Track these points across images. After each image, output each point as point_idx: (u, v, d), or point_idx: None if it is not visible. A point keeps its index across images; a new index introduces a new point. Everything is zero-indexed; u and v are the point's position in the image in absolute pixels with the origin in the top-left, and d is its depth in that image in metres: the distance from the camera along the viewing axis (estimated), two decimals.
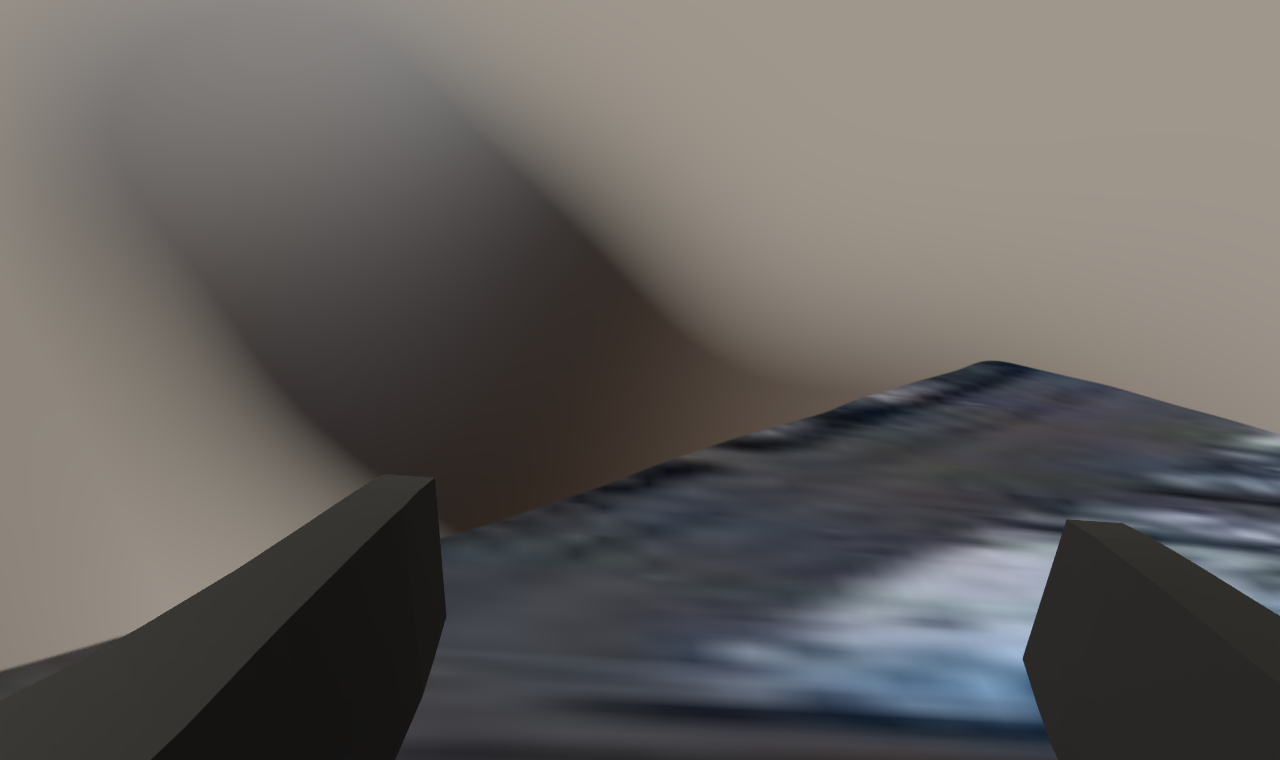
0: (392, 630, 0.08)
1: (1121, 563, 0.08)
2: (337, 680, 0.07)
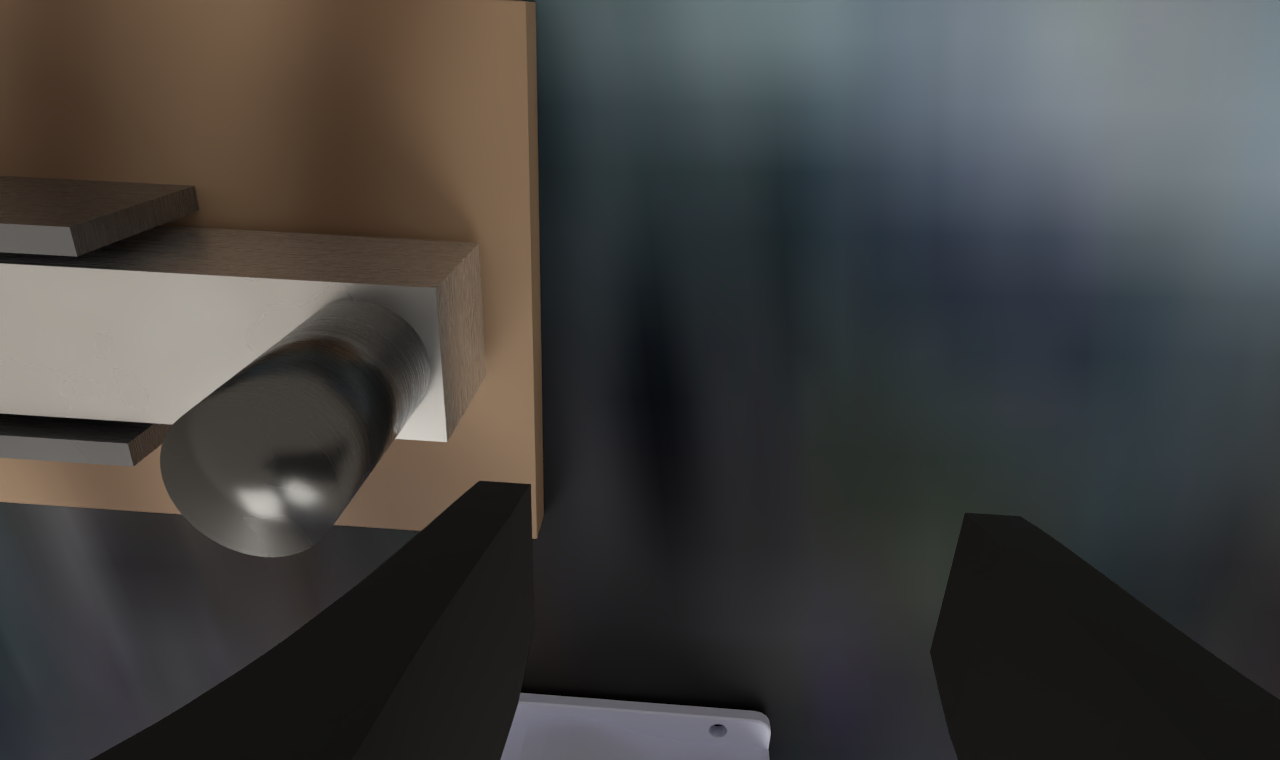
0: (500, 638, 0.08)
1: (1005, 555, 0.08)
2: (462, 690, 0.07)
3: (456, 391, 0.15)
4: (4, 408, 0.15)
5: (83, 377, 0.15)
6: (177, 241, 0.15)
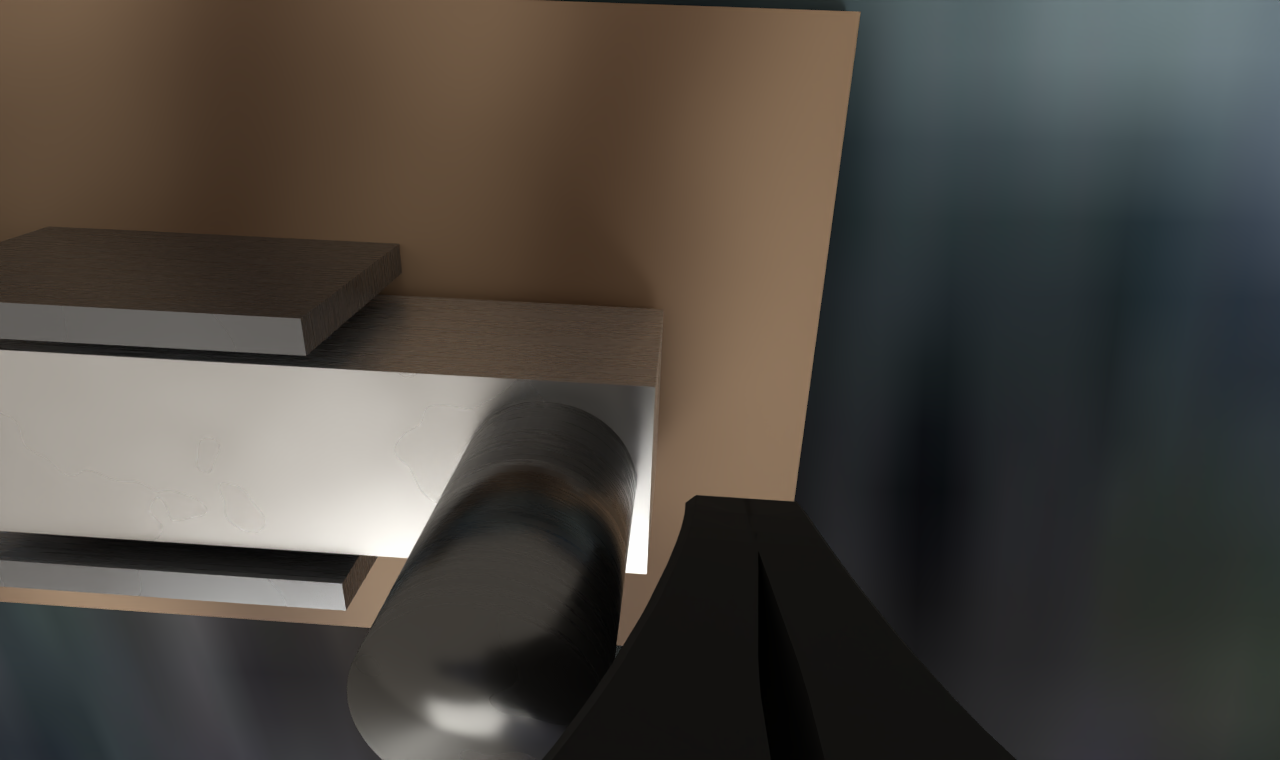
0: None
1: (752, 538, 0.08)
2: None
3: (651, 504, 0.12)
4: (76, 530, 0.12)
5: (180, 493, 0.11)
6: None
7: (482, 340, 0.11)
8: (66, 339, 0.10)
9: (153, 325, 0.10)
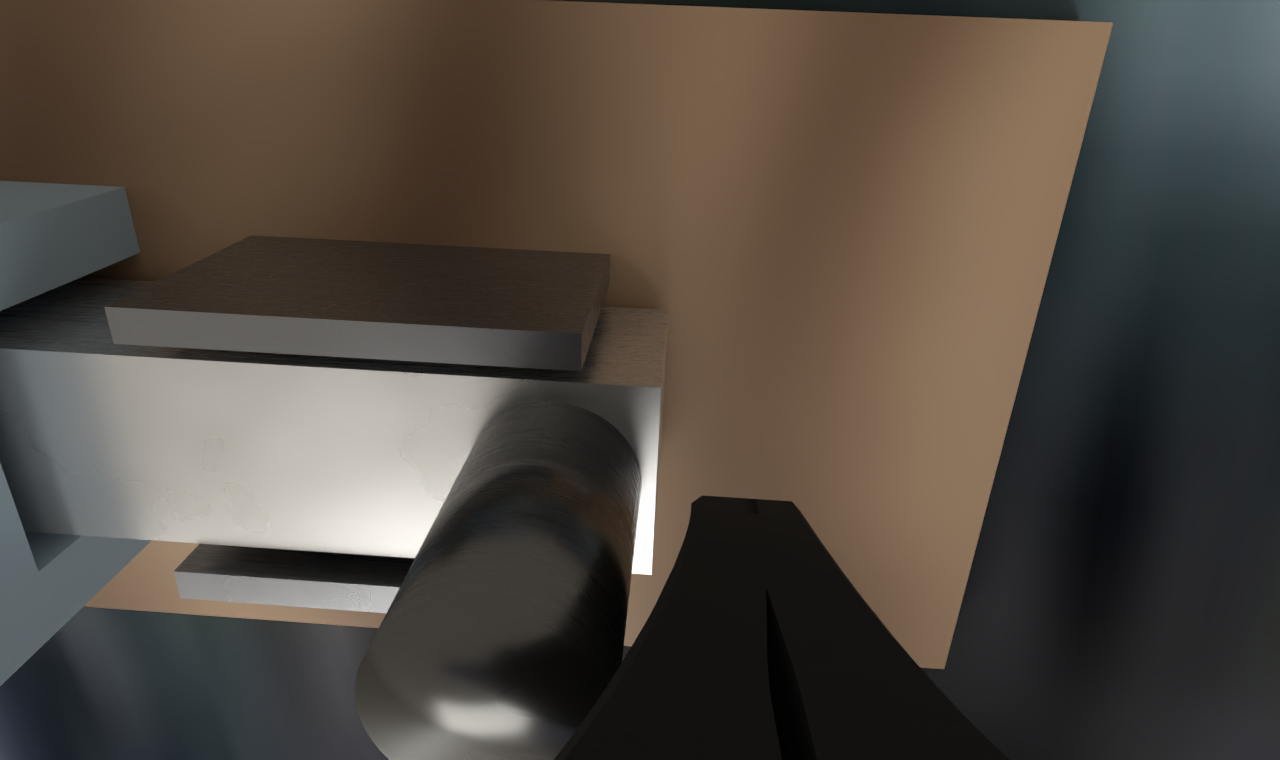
0: None
1: (747, 537, 0.08)
2: None
3: None
4: (81, 529, 0.12)
5: (185, 493, 0.11)
6: None
7: None
8: (334, 353, 0.10)
9: (427, 339, 0.10)
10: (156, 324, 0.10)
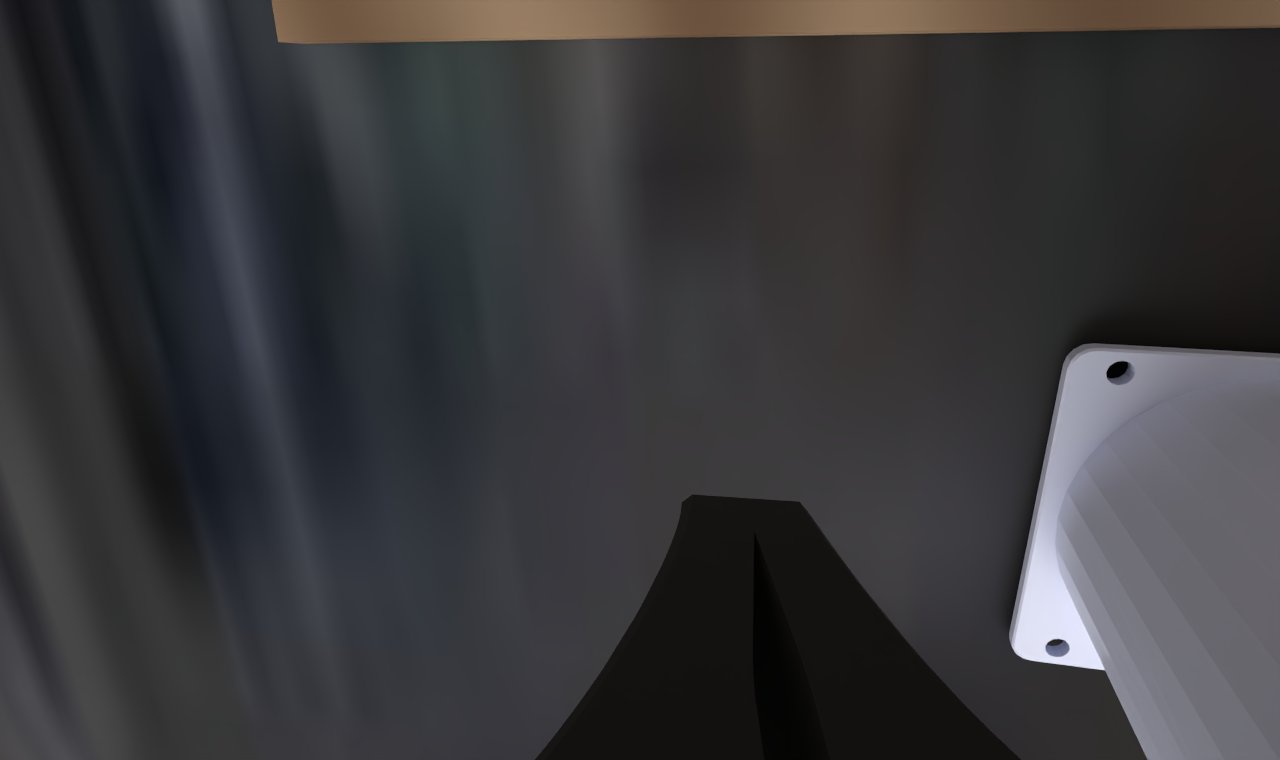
0: None
1: (755, 538, 0.08)
2: None
3: None
4: None
5: None
6: None
7: None
8: None
9: None
10: None
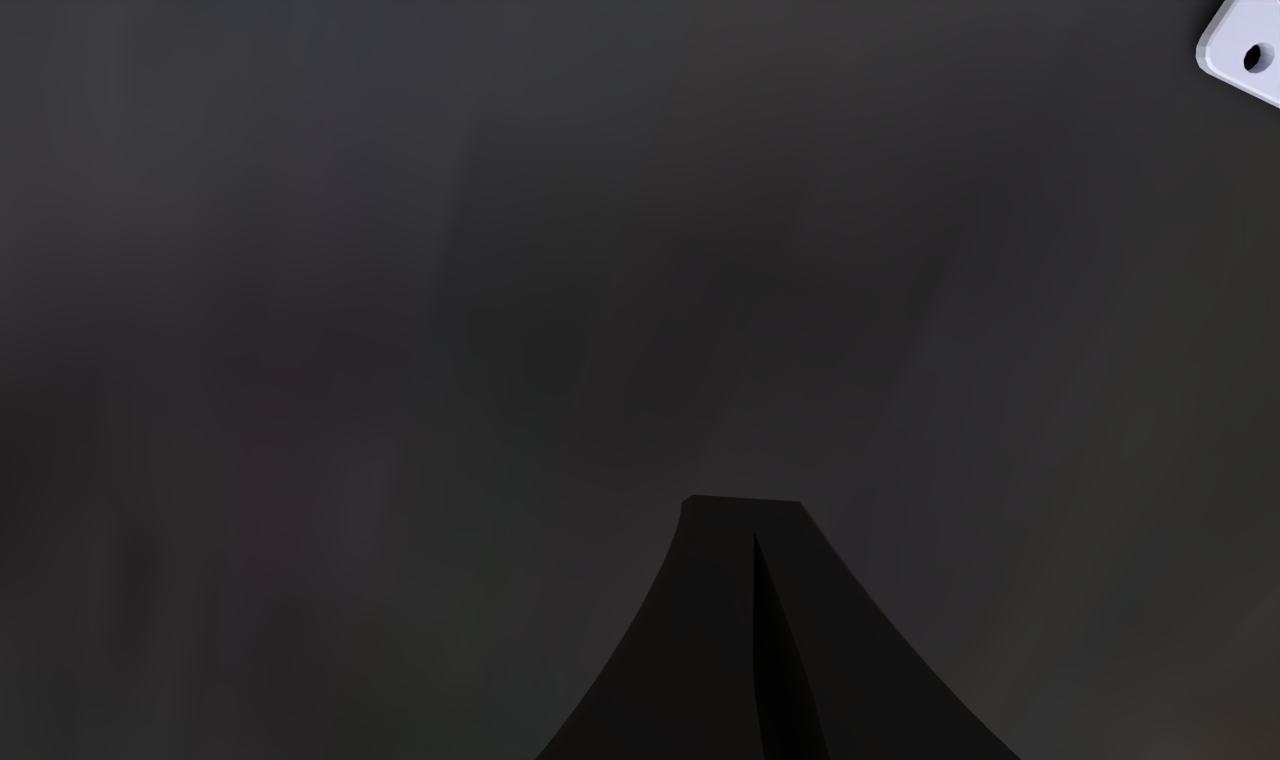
0: None
1: (755, 538, 0.08)
2: None
3: None
4: None
5: None
6: None
7: None
8: None
9: None
10: None
